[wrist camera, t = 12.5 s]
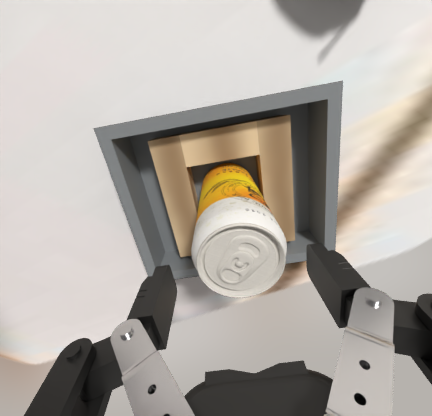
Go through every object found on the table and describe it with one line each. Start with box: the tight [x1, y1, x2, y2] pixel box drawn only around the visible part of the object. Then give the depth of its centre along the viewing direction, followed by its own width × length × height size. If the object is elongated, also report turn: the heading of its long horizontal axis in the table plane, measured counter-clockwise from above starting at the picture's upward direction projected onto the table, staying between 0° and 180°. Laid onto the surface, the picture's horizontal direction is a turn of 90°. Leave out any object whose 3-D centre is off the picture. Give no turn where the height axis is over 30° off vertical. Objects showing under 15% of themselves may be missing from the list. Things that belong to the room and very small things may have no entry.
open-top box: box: [94, 81, 343, 279], centre depth 25 cm, size 22×18×6 cm
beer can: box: [191, 163, 287, 298], centre depth 20 cm, size 6×6×15 cm
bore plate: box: [148, 115, 295, 257], centre depth 26 cm, size 14×14×3 cm
